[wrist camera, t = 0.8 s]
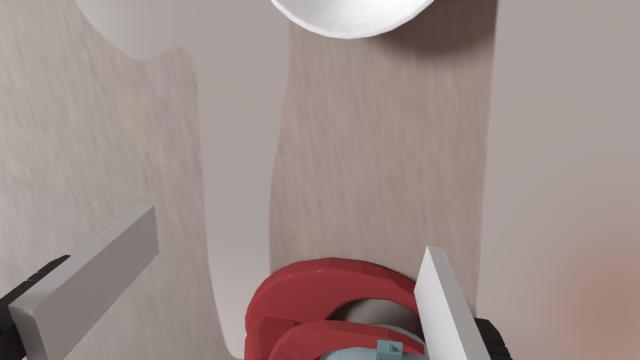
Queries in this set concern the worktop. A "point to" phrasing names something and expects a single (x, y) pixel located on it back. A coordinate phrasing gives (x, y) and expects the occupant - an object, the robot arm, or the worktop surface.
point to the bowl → (351, 15)
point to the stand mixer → (328, 314)
